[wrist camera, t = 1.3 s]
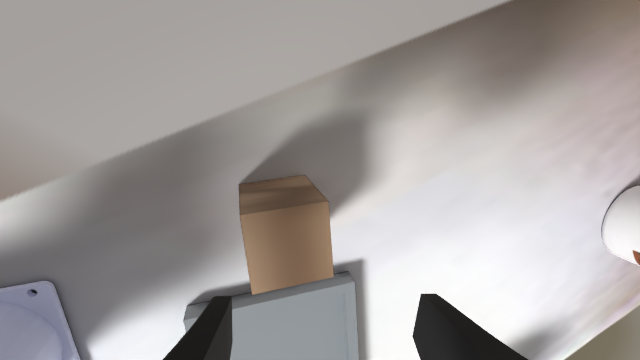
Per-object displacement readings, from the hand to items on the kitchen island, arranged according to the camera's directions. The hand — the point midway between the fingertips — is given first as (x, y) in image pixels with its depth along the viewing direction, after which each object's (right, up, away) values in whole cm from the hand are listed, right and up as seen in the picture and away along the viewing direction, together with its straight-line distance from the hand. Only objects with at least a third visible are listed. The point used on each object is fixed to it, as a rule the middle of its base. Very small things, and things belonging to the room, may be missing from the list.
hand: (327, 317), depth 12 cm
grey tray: (-4, -8, +13) cm, 15 cm away
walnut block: (-3, +3, +10) cm, 11 cm away
